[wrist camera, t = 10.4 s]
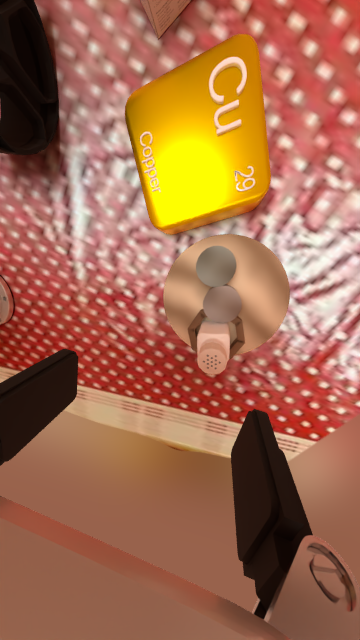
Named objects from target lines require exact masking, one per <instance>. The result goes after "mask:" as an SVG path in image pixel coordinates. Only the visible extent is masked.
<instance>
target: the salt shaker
mask: <svg viewBox="0 0 360 640" xmlns="http://www.w3.org/2000/svg"><path fill="white" fill-rule="evenodd" d="M229 353H230V334H229V326H228V323H217V322H214V321H206V320H205V321H203V322H202V324H201V327H200V330H199V333H198V336H197V356H198V358H197V363H198V366H199V368H200V369H201V370H202V371H203V372H204V373H207V374H211V375H214V374H219V373H221V372H222V371H223V370H225V367H226V365H227V361H228V360H229Z"/></svg>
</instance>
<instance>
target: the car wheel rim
mask: <svg viewBox="0 0 360 640" xmlns="http://www.w3.org/2000/svg"><path fill="white" fill-rule="evenodd" d="M0 100H1V118H0V153H6V154H16V155H28V154H36V153H38V152H40V151H41V150H43V149H45V148H46V147H47V146H48V145H49V143H50V142H51V141H52V139H53V136H54V134H55V131H56V127H57V122H58V107H59V100H58V90H57V81H56V76H55V70H54V65H53V60H52V56H51V52H50V48H49V45H48V41H47V37H46V34H45V31H44V28H43V24H42V21H41V18H40V15H39V13H38V10H37V7H36V5H35V2H34V0H0Z"/></svg>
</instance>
